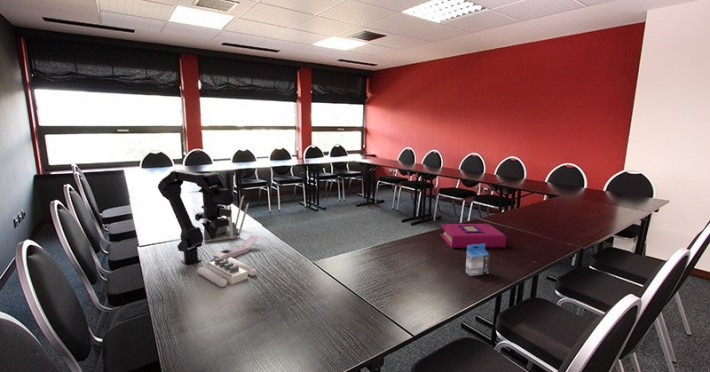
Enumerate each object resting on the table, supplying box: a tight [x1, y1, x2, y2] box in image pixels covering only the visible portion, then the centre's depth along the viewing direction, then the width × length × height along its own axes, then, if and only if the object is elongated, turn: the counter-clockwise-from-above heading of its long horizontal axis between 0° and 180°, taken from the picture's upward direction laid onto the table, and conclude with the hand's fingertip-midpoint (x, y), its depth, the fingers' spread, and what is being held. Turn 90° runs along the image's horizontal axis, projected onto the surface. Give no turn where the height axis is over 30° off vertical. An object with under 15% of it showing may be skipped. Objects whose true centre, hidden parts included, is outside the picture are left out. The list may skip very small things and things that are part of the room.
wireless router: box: [203, 195, 249, 243], centre depth 188 cm, size 34×23×20 cm
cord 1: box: [197, 266, 228, 288], centre depth 133 cm, size 20×3×3 cm, turn 49°
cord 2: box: [228, 257, 257, 277], centre depth 143 cm, size 20×3×3 cm, turn 49°
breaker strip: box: [206, 257, 249, 285], centre depth 138 cm, size 20×7×5 cm, turn 49°
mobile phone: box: [209, 234, 260, 262], centre depth 160 cm, size 6×6×25 cm
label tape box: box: [465, 244, 491, 277], centre depth 140 cm, size 9×4×12 cm, turn 105°
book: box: [439, 223, 507, 249], centre depth 180 cm, size 21×28×8 cm
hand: (213, 238), depth 143 cm, fingers closed
